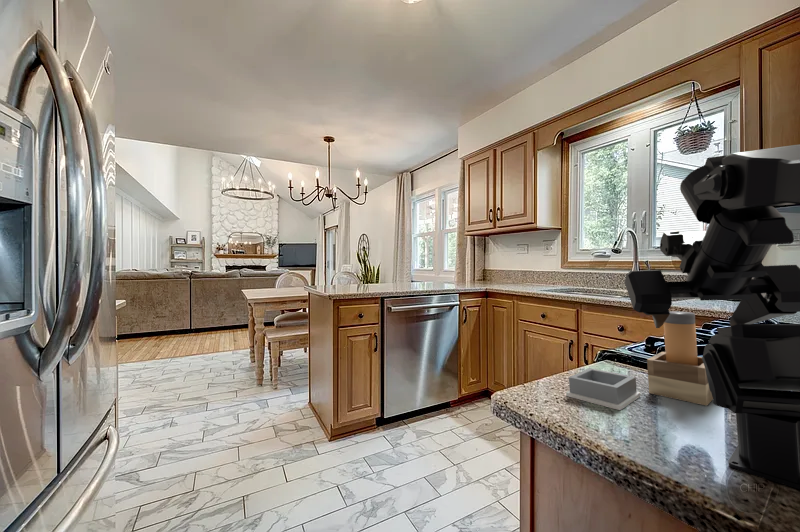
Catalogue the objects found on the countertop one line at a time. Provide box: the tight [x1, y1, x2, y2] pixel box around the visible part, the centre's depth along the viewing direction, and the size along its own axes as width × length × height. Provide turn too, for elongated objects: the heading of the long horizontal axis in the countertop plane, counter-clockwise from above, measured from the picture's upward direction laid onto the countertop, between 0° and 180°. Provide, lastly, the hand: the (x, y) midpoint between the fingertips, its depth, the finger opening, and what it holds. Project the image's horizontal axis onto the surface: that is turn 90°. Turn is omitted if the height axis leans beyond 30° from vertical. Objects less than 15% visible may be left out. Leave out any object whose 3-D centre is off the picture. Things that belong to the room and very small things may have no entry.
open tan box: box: [646, 351, 713, 406], centre depth 55 cm, size 7×7×6 cm
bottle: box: [663, 310, 698, 366], centre depth 55 cm, size 4×4×10 cm
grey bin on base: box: [565, 367, 642, 411], centre depth 56 cm, size 8×8×3 cm
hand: (693, 325), depth 51 cm, fingers open, 9 cm apart
